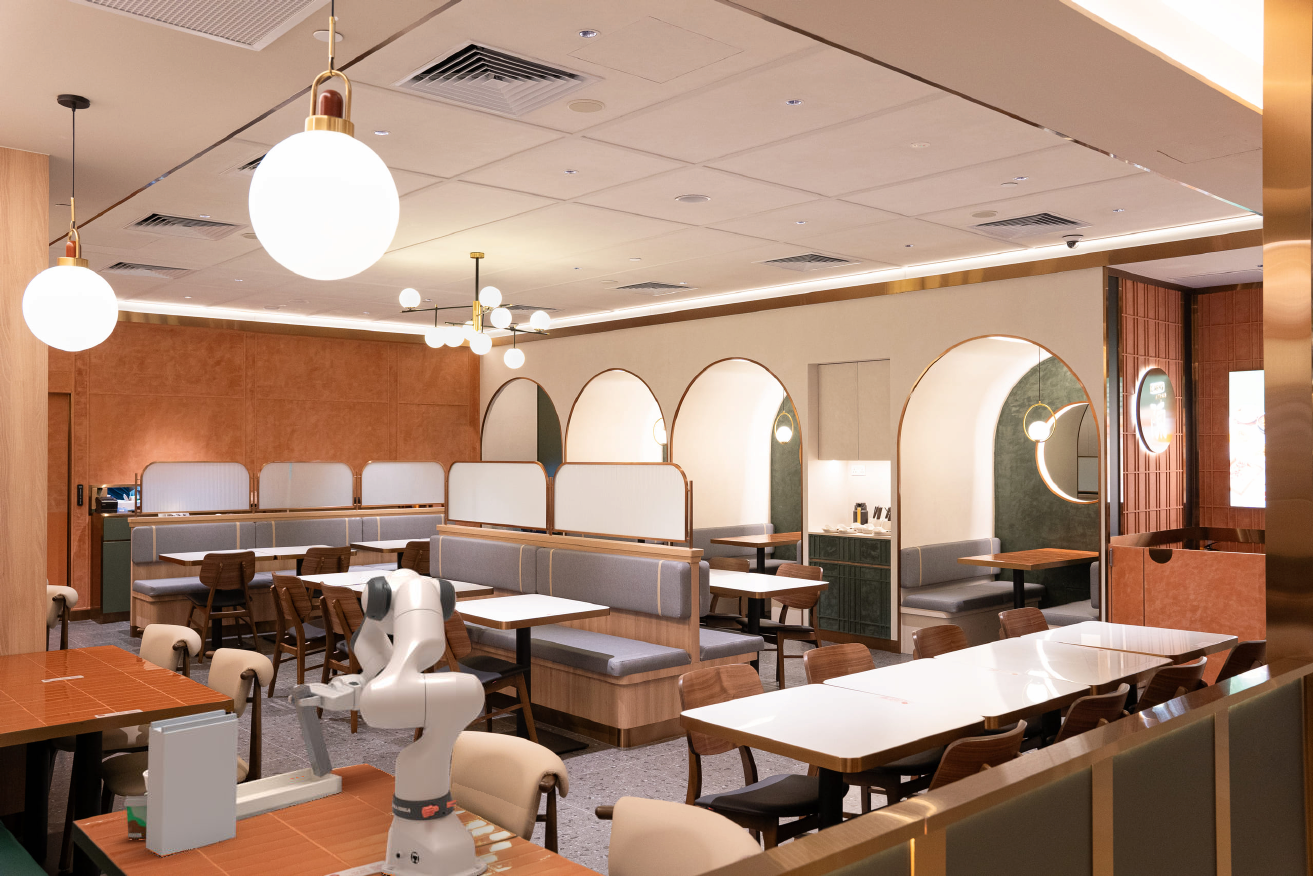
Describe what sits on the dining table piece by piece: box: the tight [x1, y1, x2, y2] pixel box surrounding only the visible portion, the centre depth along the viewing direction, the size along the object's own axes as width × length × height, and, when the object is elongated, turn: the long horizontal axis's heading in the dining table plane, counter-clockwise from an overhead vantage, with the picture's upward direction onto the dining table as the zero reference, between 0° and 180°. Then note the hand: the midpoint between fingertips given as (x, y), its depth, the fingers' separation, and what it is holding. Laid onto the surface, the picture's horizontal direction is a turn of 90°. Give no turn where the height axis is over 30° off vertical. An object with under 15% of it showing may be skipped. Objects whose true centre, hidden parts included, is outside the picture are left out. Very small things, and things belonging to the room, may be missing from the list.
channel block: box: [145, 709, 239, 856], centre depth 215 cm, size 8×16×27 cm, turn 139°
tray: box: [236, 766, 343, 822], centre depth 242 cm, size 14×31×4 cm, turn 139°
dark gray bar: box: [289, 683, 334, 777], centre depth 251 cm, size 4×24×4 cm
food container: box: [123, 790, 147, 840], centre depth 219 cm, size 12×6×10 cm, turn 161°
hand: (294, 701), depth 247 cm, fingers closed on dark gray bar, 3 cm apart
